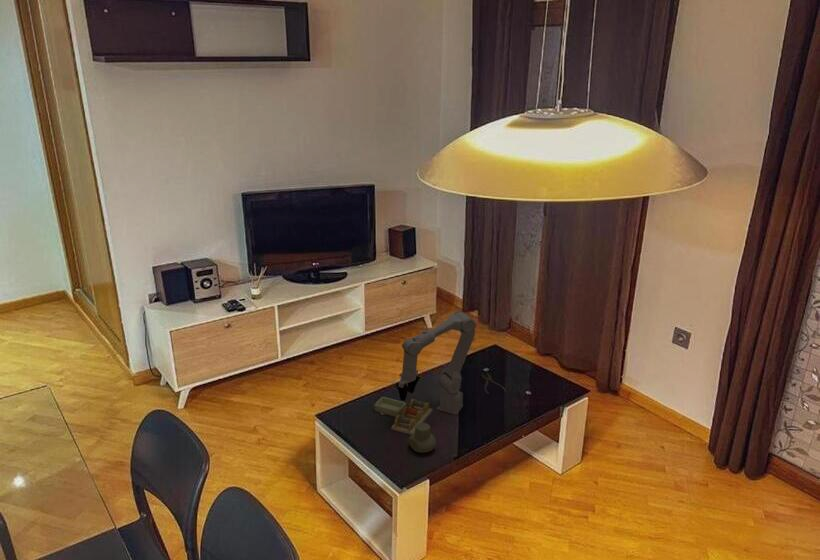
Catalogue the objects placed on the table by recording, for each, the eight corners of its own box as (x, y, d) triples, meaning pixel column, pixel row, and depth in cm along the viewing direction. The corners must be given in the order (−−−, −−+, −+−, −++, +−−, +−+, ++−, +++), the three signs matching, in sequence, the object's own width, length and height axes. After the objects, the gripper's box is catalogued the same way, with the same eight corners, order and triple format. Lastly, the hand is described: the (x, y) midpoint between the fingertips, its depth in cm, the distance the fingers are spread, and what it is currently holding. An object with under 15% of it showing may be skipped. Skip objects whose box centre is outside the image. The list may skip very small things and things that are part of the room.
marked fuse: (421, 415, 261) (422, 409, 260) (419, 418, 259) (419, 412, 258) (405, 411, 264) (405, 405, 263) (402, 414, 262) (402, 408, 261)
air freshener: (438, 451, 242) (439, 429, 238) (421, 458, 238) (421, 436, 234) (423, 438, 250) (423, 416, 247) (406, 444, 246) (406, 422, 243)
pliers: (490, 395, 281) (469, 375, 299) (489, 396, 282) (469, 376, 299) (508, 391, 285) (486, 371, 302) (508, 392, 285) (486, 373, 303)
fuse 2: (428, 407, 267) (428, 401, 266) (425, 410, 265) (426, 404, 264) (412, 403, 270) (412, 397, 269) (409, 406, 268) (410, 400, 267)
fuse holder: (432, 411, 269) (432, 402, 267) (412, 435, 252) (412, 426, 250) (412, 406, 273) (412, 397, 271) (391, 429, 256) (391, 420, 254)
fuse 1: (414, 424, 255) (415, 417, 254) (411, 427, 253) (412, 421, 252) (398, 419, 258) (398, 413, 257) (395, 422, 256) (395, 416, 255)
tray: (406, 408, 271) (406, 402, 270) (398, 417, 264) (398, 411, 263) (382, 402, 275) (382, 396, 274) (373, 411, 269) (373, 405, 268)
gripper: (408, 358, 263) (405, 386, 267) (392, 370, 251) (390, 400, 255) (423, 362, 260) (420, 391, 265) (408, 375, 248) (405, 405, 252)
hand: (406, 396), depth 259 cm, fingers open, 7 cm apart
